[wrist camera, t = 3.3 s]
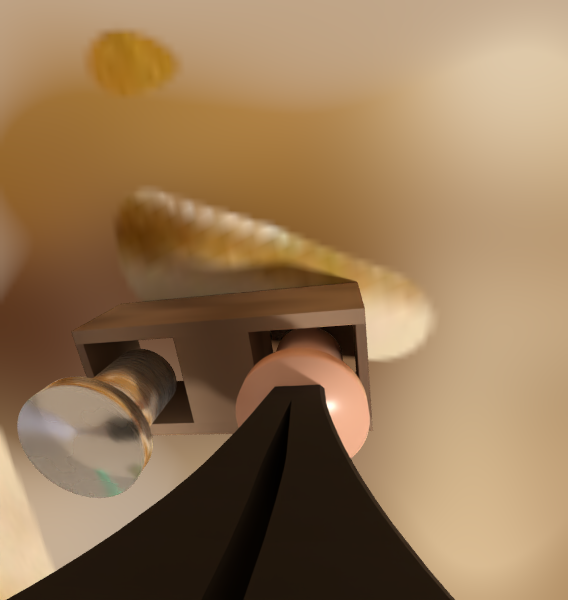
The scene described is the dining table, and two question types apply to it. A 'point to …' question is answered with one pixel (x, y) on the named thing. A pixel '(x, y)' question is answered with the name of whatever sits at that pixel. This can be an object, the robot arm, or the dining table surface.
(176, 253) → the dining table surface
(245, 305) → the plug block
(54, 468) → the grey plug
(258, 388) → the terracotta plug
